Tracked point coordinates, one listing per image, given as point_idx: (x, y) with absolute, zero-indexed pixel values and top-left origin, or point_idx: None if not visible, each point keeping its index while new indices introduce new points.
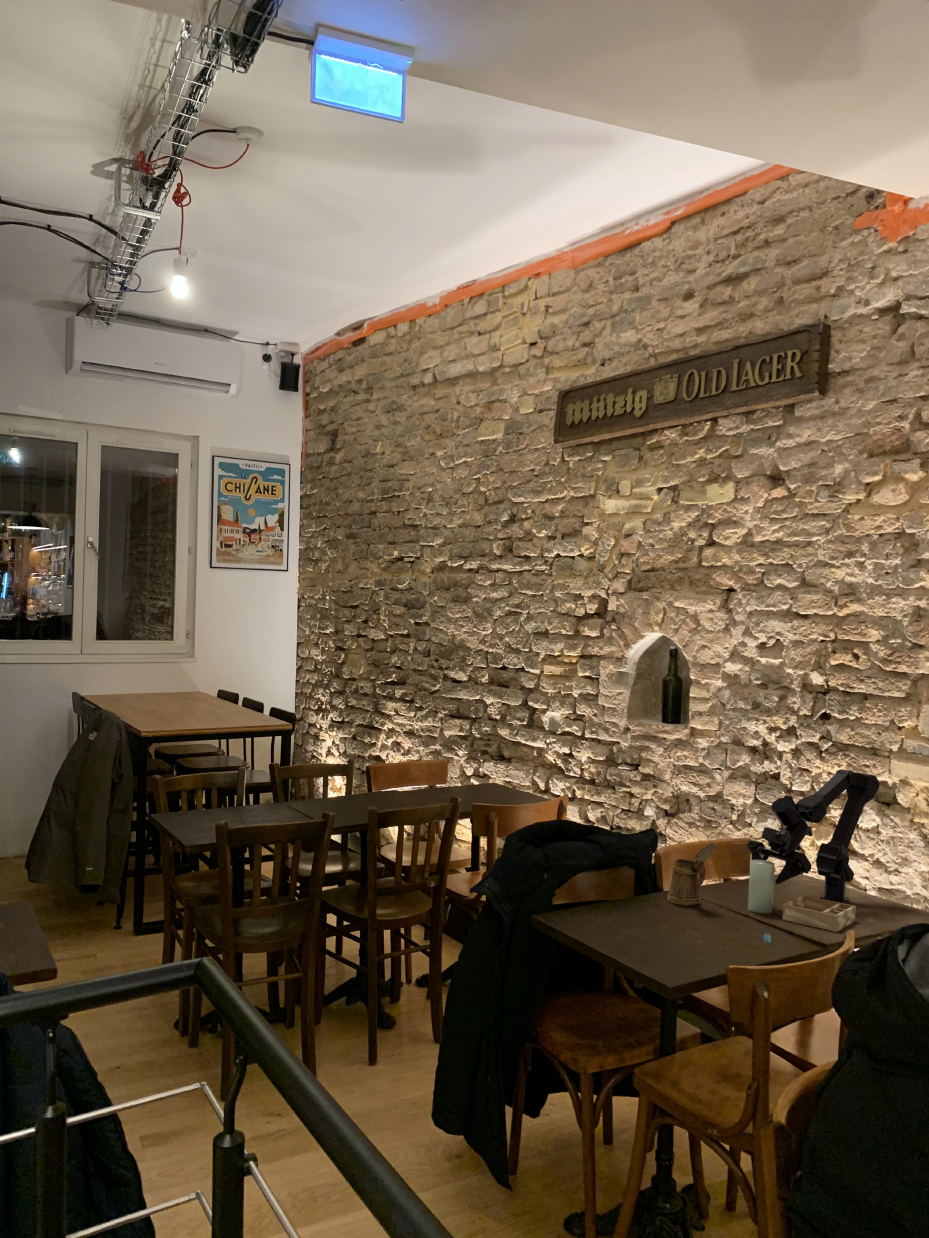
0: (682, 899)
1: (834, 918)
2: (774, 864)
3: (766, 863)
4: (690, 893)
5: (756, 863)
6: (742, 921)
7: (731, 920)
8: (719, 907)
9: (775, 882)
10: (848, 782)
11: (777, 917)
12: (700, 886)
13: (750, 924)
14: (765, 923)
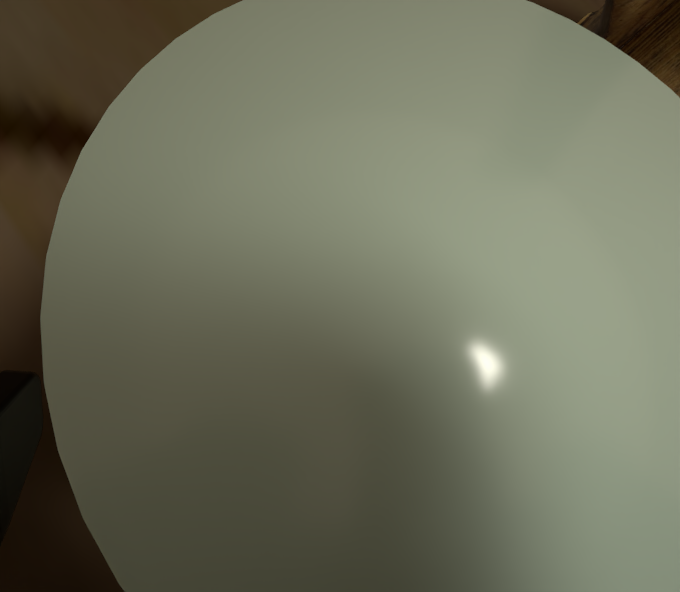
0: (583, 18)
1: None
2: (79, 501)
3: (320, 270)
4: (597, 19)
5: (434, 4)
6: (145, 37)
7: (201, 3)
8: None
9: (37, 382)
10: None
11: (42, 370)
12: (611, 14)
13: (65, 19)
14: (6, 123)
